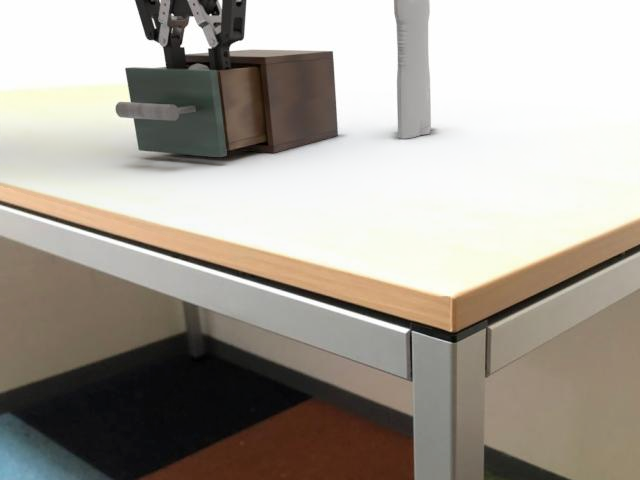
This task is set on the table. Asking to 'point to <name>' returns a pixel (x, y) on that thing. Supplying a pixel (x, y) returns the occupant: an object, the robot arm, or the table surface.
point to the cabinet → (291, 95)
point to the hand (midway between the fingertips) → (199, 82)
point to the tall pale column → (413, 68)
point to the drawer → (196, 109)
